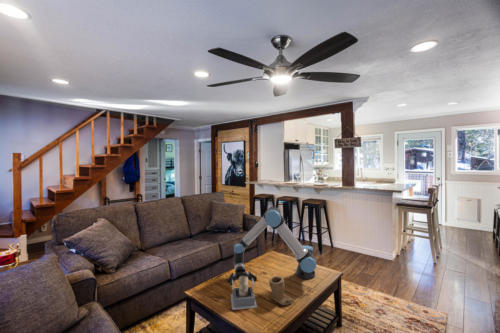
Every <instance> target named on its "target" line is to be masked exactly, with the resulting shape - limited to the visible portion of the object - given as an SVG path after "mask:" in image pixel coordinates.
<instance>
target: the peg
mask: <svg viewBox="0 0 500 333" xmlns="http://www.w3.org/2000/svg"><path fill="white" fill-rule="evenodd" d="M248 287H249V280H248V277H247V276H240V277H239V279H238V288H239V298H242V297H248Z"/></svg>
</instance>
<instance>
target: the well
mask: <svg viewBox="0 0 500 333" xmlns="http://www.w3.org/2000/svg"><path fill="white" fill-rule="evenodd" d="M254 293H255V292H254V291H253V286H248V297H242V298H239V287H234V289H233V288H232V293H231V294H230V301H231V310H232V311H234V310H235V311H236V310H247V309H256V308H258V304H257V301H256V297H255V294H254Z"/></svg>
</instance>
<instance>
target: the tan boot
mask: <svg viewBox="0 0 500 333" xmlns="http://www.w3.org/2000/svg"><path fill="white" fill-rule="evenodd" d="M268 281H269V282H268V283H269V286H270V289H271V292H272V293H270V295H269V296H270V298H271V299H272V300H273V301H274V302H276V303H278V304H279V305H282V306H288V305H291V304H292V303H293V302H294V301H295V299H294V298H292V297H290V295H287V294H286V293H285V287H286V285H285V279H284V278H283V277H282V276H278V275H276V276H271V277H270V279H269V280H268Z"/></svg>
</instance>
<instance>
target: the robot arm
mask: <svg viewBox="0 0 500 333" xmlns="http://www.w3.org/2000/svg"><path fill="white" fill-rule="evenodd" d="M268 226H269V227H270V228H271V229H272V230H273V231H276V232H277V234H278V235H279V236H280V237H281V239H282V240H283V241H284V243H285V244H286V246H288V248H289V249H290V250H291V252H292V253H293V255H295V256H294V258H295V260H296V262H297V266H296V270H295V275H296V276H297V277H298V278H300V279H303V280H311V279H314V278H315V277H316V272H315V270H316V268H317V261H316V258H315V255H314V247H313V246H311V245H302V243H301V242H300V241H299V240H298V239H297V237H296V236H295V234H294V233H293V232H292V230H291V229H290V228H289V226H288V225H287V224H286V219H285V218H284V217H283V215H282V214H281V211H280V208H278V207H276V206H270V207H269V208H267V210H266V211H265V212H264V214H263V215H262V217H261V219H260V220H258V222H256V224H255V225H254V226H253V227H252V228H251V229H250V230H248V232H247V233H246V234H245V235H244V236H243V237H242V238H241V239H240V240H239V241H238V242H237V243H236V244H234V245H233V268H234V272H231V274H230V276H229V277H228V278H227V284H229V285H230V286H231V287H232V290H233V289H234V288H235V284H234V282H235V281H237V280H238V281H239V277H240V276H247V277H248V281H250V282H251V284H252V288H255V284H256V282H257V279H258V276H256V275H254V274H253V273H252V272H251V271H248V272H247V271H246V268H245V264H244V261H245V260H244V256H245V255H244V253H245V250H246V249H247V248H248V247H249V245H250V244H251V243H252V242H254V241H255V239H256V238H257V237H258V236H259V235H260V234H261V233H262V232H263V231H264V230H265V229H266V228H267V227H268Z"/></svg>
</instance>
